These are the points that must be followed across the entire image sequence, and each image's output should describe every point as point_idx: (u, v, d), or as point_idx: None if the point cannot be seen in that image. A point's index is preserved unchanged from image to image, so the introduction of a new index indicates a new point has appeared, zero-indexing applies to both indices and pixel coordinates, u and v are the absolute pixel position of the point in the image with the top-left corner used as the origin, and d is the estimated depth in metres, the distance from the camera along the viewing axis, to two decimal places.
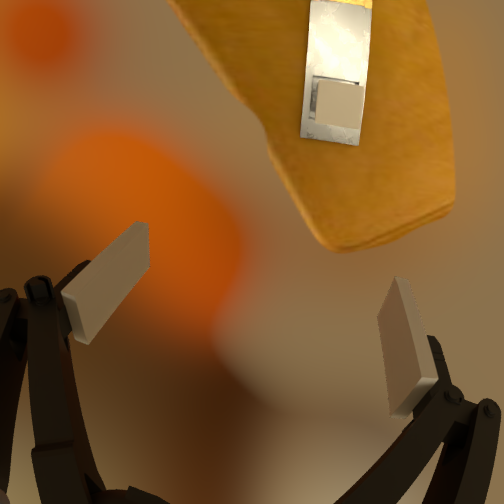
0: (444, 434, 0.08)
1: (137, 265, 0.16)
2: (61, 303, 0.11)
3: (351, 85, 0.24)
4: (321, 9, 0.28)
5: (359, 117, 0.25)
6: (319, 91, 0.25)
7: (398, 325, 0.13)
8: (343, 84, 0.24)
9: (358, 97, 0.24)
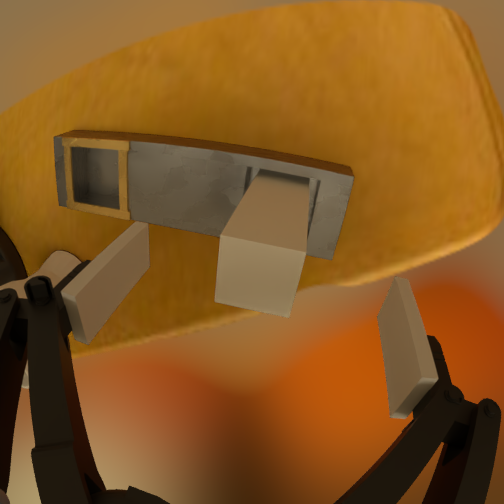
0: (444, 434, 0.08)
1: (137, 265, 0.16)
2: (61, 303, 0.11)
3: (220, 256, 0.16)
4: (141, 208, 0.26)
5: (281, 250, 0.15)
6: (235, 304, 0.17)
7: (398, 325, 0.13)
8: (220, 269, 0.16)
9: (241, 248, 0.15)
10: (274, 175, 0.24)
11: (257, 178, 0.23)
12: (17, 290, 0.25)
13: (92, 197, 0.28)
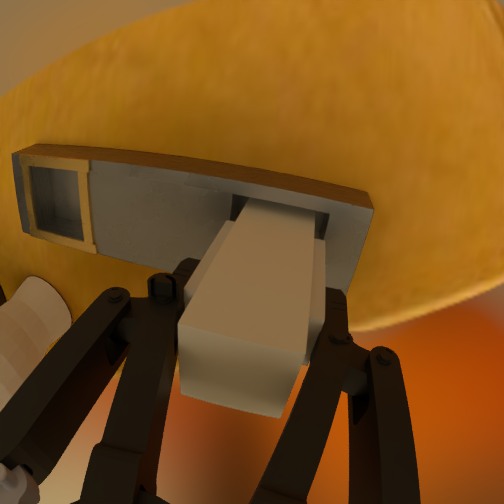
0: (344, 376, 0.10)
1: None
2: (180, 300, 0.13)
3: (181, 349, 0.10)
4: (108, 241, 0.21)
5: (268, 349, 0.09)
6: (207, 399, 0.12)
7: None
8: (182, 362, 0.11)
9: (209, 342, 0.10)
10: (269, 205, 0.19)
11: (246, 210, 0.18)
12: None
13: (57, 223, 0.23)
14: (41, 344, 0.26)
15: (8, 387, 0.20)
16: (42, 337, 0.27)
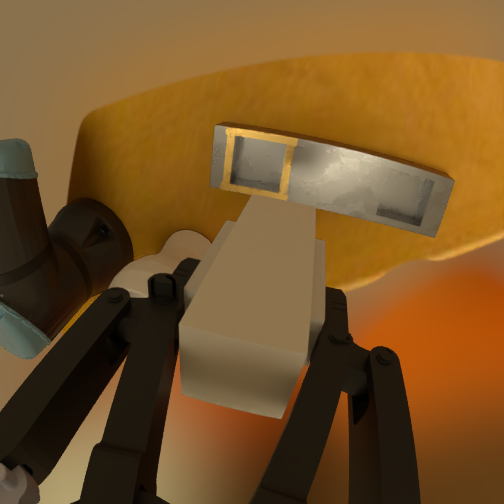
0: (344, 376, 0.10)
1: None
2: (180, 300, 0.13)
3: (182, 349, 0.10)
4: (299, 193, 0.33)
5: (269, 350, 0.09)
6: (208, 400, 0.12)
7: None
8: (183, 363, 0.11)
9: (211, 342, 0.10)
10: (270, 205, 0.19)
11: (247, 210, 0.18)
12: (166, 261, 0.33)
13: (243, 181, 0.36)
14: None
15: None
16: None
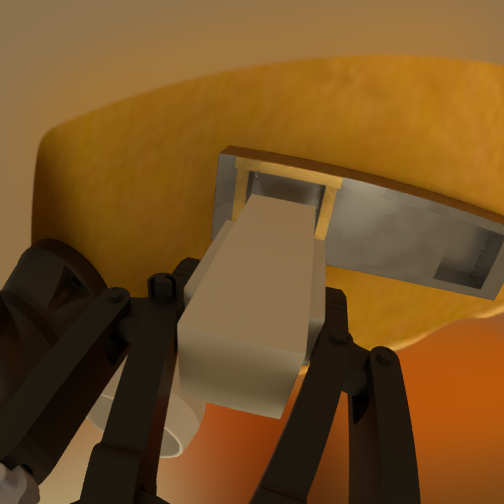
0: (344, 376, 0.10)
1: None
2: (180, 300, 0.13)
3: (181, 349, 0.10)
4: (338, 252, 0.24)
5: (268, 350, 0.09)
6: (207, 400, 0.12)
7: None
8: (182, 363, 0.11)
9: (209, 342, 0.10)
10: (269, 205, 0.19)
11: (246, 210, 0.18)
12: None
13: None
14: None
15: (196, 412, 0.22)
16: None
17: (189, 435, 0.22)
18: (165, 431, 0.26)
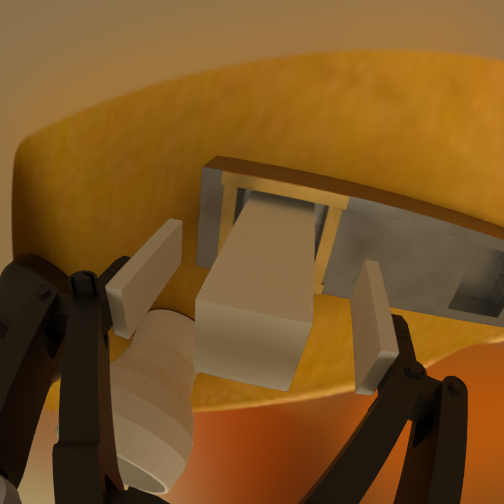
0: (411, 409, 0.09)
1: (172, 261, 0.17)
2: (104, 298, 0.12)
3: (197, 324, 0.11)
4: (342, 281, 0.21)
5: (278, 320, 0.11)
6: (219, 375, 0.13)
7: (365, 304, 0.14)
8: (198, 337, 0.12)
9: (225, 315, 0.11)
10: (272, 197, 0.20)
11: (250, 201, 0.19)
12: (136, 386, 0.20)
13: None
14: (191, 389, 0.26)
15: (182, 453, 0.19)
16: (191, 381, 0.26)
17: (174, 476, 0.18)
18: None
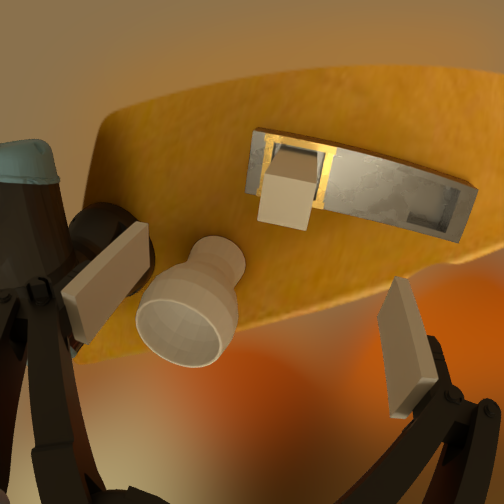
0: (444, 434, 0.08)
1: (137, 265, 0.16)
2: (61, 303, 0.11)
3: (263, 187, 0.25)
4: (335, 200, 0.34)
5: (301, 182, 0.24)
6: (270, 221, 0.26)
7: (398, 325, 0.13)
8: (262, 196, 0.25)
9: (277, 181, 0.24)
10: (292, 149, 0.33)
11: (280, 150, 0.32)
12: (203, 270, 0.33)
13: None
14: (233, 289, 0.39)
15: (233, 319, 0.32)
16: (234, 283, 0.39)
17: (227, 337, 0.31)
18: (202, 349, 0.36)
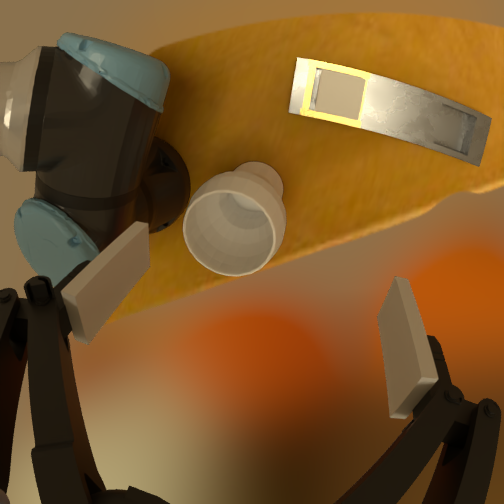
0: (444, 434, 0.08)
1: (137, 265, 0.16)
2: (61, 303, 0.11)
3: (321, 81, 0.25)
4: (370, 120, 0.34)
5: (353, 77, 0.24)
6: (327, 111, 0.26)
7: (398, 325, 0.13)
8: (320, 88, 0.25)
9: (333, 76, 0.25)
10: None
11: None
12: (254, 174, 0.34)
13: None
14: None
15: (284, 219, 0.33)
16: None
17: (279, 236, 0.32)
18: (246, 262, 0.36)
